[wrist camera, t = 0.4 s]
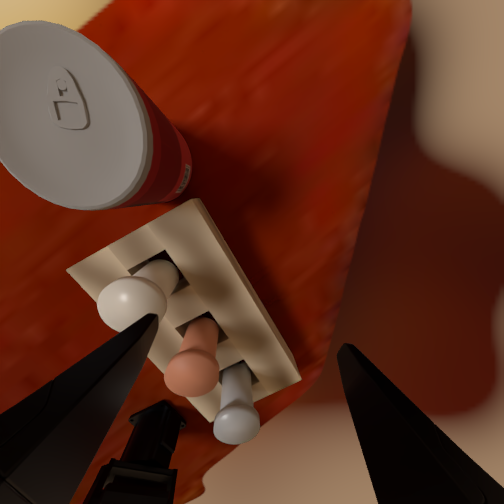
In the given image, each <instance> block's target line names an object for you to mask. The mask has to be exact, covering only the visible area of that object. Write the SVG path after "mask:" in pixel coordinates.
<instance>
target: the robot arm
mask: <svg viewBox="0 0 504 504" xmlns="http://www.w3.org/2000/svg"><path fill="white" fill-rule="evenodd" d="M158 328H159V317H158V314H154V313H148V314H146V315H144V316H143V317H142V318H140V319H139V320H137V321H136V322H134V323H133V324H132V325H130V326H129V327H127V328H126V329H124V330H123V331H121V332H120V333H119V334H117V335H116V336H114V337H113V338H111V339H110V340H109V341H107V342H106V343H104V344H103V345H101V346H100V347H98V348H97V349H96V350H94V351H93V352H91V353H90V354H88V355H87V356H86V357H84V358H83V359H81V360H80V361H78V362H77V363H75V364H74V365H73V366H71V367H70V368H68V369H67V370H65V371H64V372H63V373H61V374H60V375H58V376H57V377H55V379H54V380H51V381H49V382H48V383H47V384H45V385H44V386H42V387H41V388H39V389H38V390H36V391H35V392H34V393H32V394H31V395H29V396H28V397H26V398H25V399H23V400H22V401H20V402H19V403H17V404H16V405H14V406H13V407H11V408H9V409H8V410H6V411H5V412H3V413H2V414H0V504H69V503H70V501H71V499H72V497H73V495H74V494H75V492H76V490H77V488H78V486H79V484H80V482H81V481H82V479H83V477H84V475H85V473H86V471H87V469H88V468H89V466H90V464H91V462H92V460H93V458H94V456H95V455H96V453H97V451H98V449H99V447H100V445H101V443H102V442H103V440H104V438H105V436H106V434H107V432H108V430H109V429H110V427H111V425H112V423H113V421H114V419H115V418H116V416H117V414H118V412H119V410H120V408H121V406H122V405H123V403H124V401H125V399H126V397H127V395H128V393H129V392H130V390H131V388H132V386H133V384H134V382H135V380H136V379H137V377H138V375H139V373H140V371H141V369H142V367H143V365H144V363H145V360H146V358H147V356H148V353H149V351H150V348H151V346H152V344H153V341H154V339H155V336H156V334H157V332H158ZM337 361H338V365H339V370H340V375H341V380H342V384H343V388H344V393H345V396H346V399H347V403H348V406H349V409H350V412H351V416H352V419H353V422H354V426H355V429H356V432H357V436H358V439H359V442H360V446H361V449H362V452H363V455H364V459H365V462H366V465H367V468H368V471H369V475H370V478H371V482H372V485H373V488H374V491H375V494H376V498H377V501H378V504H504V488H503V487H502V486H501V485H500V484H499V483H497V482H496V481H495V480H494V479H493V478H492V477H491V476H490V475H489V474H488V473H486V472H485V471H484V470H483V469H482V468H481V467H480V466H479V465H478V464H477V463H475V462H474V461H473V460H472V459H471V458H470V457H469V456H468V455H467V454H466V453H464V451H462V450H461V449H460V448H459V447H458V446H457V445H456V444H455V443H454V442H453V441H452V440H451V439H450V438H449V437H448V436H447V435H446V434H445V433H444V432H443V431H442V430H440V429H439V428H438V427H437V425H435V424H434V423H433V422H432V421H431V420H430V419H429V418H428V417H427V416H426V415H425V414H424V413H423V412H422V411H421V410H420V409H419V408H418V407H417V406H416V405H415V404H414V403H413V402H412V401H411V400H410V399H409V398H408V397H407V396H406V395H405V394H403V392H401V390H400V389H398V388H397V387H396V386H395V385H394V384H393V383H392V382H391V381H390V380H389V379H388V378H387V377H386V376H385V375H384V374H383V373H382V372H381V371H380V370H379V369H378V368H377V367H376V366H375V365H374V364H373V363H372V362H371V361H370V360H369V359H368V358H367V357H366V356H365V355H364V354H362V352H361V351H359V349H357V348H356V347H355V346H354V345H353V344H349V343H344V344H343V345H342V346H341V348H340V350H339V351H338V353H337ZM129 422H130V423H131V424H132V425H134V426H135V427H134V429H133V431H132V434H131V436H130V438H129V440H128V443H127V445H126V447H125V450H124V452H123V454H122V456H121V459H120V460H116V459H114V458H111V460H110V462H109V464H107V465H104V466H102V467H101V469H100V471H99V473H98V475H97V477H96V479H95V481H94V483H93V485H92V487H91V489H90V491H89V492H88V494H87V496H86V498H85V500H84V502H83V504H173V499H174V492H175V485H176V478H177V471H178V469H173V470H172V469H168V468H169V464H170V460H171V456H172V454H173V453H174V451H175V447H176V443H177V438H178V434H179V430H181V429H183V428H185V427H186V421H185V420H184V419H183V418H182V417H181V416H180V415H179V414H178V413H177V412H176V411H175V410H174V409H173V408H172V407H171V406H170V405H169V404H168V403H167V402H166V401H160V402H158V403H156V404H154V405H152V406H150V407H148V408H146V409H144V410H142V411H140V412H138V413H136V414H133V415H131V416H130V418H129ZM103 488H104V490H103Z"/></svg>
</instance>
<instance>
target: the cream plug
mask: <svg viewBox="0 0 504 504" xmlns="http://www.w3.org/2000/svg"><path fill="white" fill-rule="evenodd" d="M178 282H179V272H178V270H177V268H176V267H175V266H174V265H173V264H172V263H170V262H169V261H166V260H161V259H157V260H153V261H151V262H149V263H148V264H147V265H145V266H144V267H143V268H141V269H140V270H139V271H138V272H136V273H135V274H134V275H133V276H125V277H121V278H119V279H117V280H115V281H114V282H112V283H111V284H109V285H108V286H107V287H105V288H104V289H103V290H102V291H101V293H100V295H99V297H98V301H97V308H98V312H99V314H100V316H101V318H102V319H103V321H104V322H105V323H106V324H107V325H108V326H110V327H111V328H113V329H114V330H116V331H118V332H121V331H123V330H124V329H126V328H127V327H129V326H130V325H132V324H133V323H134V322H136V321H137V320H139V319H140V318H142V317H143V316H144V315H146V314H148V313H154V314H158V317H159V324H160V322H161V321H162V319H163V317H164V315H165V313H166V311H167V299H168V298H169V296H170V295H171V293H172V292H173V290H174V288H175V287H176V285H177V284H178Z"/></svg>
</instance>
